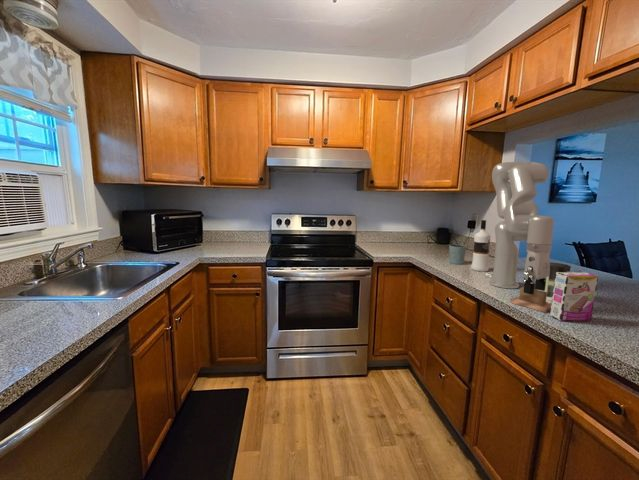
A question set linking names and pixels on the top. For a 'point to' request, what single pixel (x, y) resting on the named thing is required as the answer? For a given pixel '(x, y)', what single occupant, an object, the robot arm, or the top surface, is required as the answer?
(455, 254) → the light blue cup
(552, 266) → the coffee can
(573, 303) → the candy bar box
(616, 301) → the top surface
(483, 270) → the vodka
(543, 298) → the plate with tan block
